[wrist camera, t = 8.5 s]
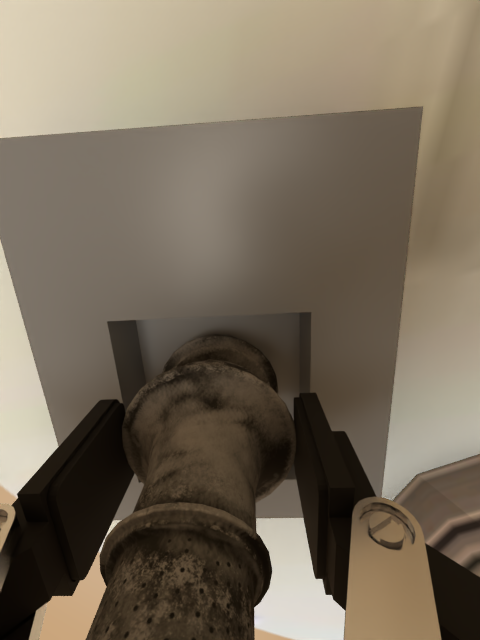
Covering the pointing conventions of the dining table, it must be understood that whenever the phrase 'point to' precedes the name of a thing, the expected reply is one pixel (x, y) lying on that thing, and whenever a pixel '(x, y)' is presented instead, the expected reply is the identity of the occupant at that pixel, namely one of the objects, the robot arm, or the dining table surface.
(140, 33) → the dining table surface
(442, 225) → the dining table surface
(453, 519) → the can
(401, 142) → the plate
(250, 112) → the dining table surface
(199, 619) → the dark chess piece
